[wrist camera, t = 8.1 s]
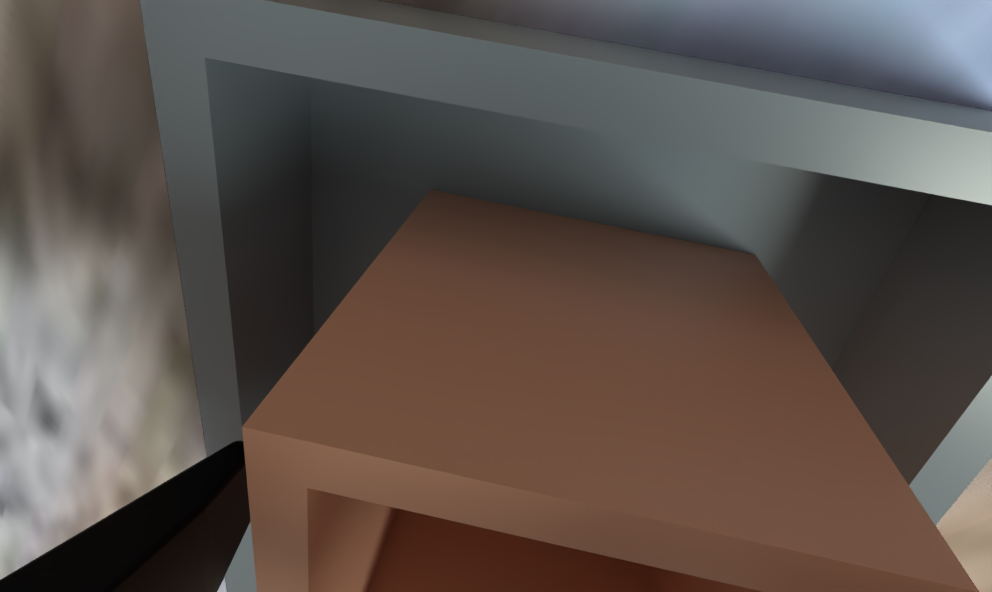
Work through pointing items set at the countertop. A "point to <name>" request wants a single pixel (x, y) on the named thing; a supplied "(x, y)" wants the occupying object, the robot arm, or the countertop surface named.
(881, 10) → the countertop surface
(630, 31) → the countertop surface
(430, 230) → the small crate
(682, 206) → the large crate
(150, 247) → the countertop surface
